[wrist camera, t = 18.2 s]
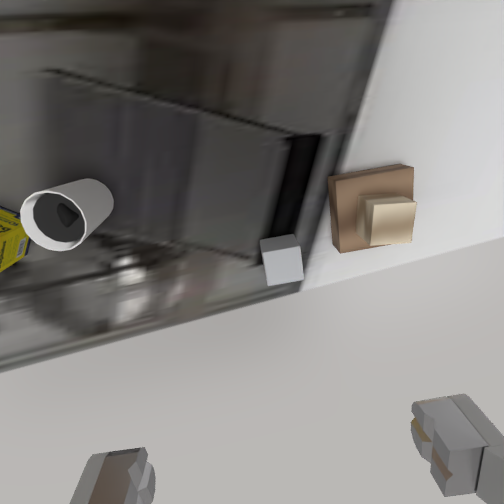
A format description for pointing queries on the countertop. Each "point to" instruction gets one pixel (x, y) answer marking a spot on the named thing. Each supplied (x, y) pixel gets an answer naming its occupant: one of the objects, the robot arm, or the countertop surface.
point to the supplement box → (12, 238)
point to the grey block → (282, 259)
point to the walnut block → (357, 184)
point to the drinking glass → (66, 213)
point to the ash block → (385, 219)
